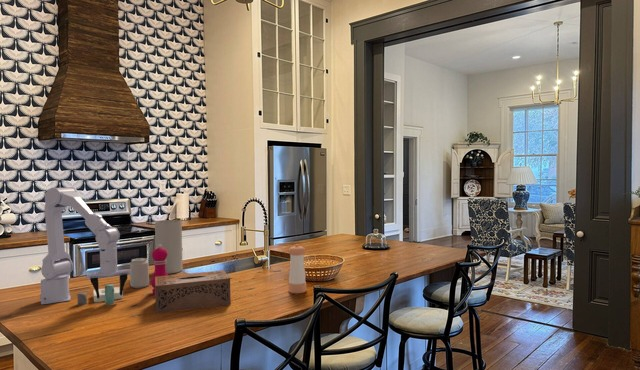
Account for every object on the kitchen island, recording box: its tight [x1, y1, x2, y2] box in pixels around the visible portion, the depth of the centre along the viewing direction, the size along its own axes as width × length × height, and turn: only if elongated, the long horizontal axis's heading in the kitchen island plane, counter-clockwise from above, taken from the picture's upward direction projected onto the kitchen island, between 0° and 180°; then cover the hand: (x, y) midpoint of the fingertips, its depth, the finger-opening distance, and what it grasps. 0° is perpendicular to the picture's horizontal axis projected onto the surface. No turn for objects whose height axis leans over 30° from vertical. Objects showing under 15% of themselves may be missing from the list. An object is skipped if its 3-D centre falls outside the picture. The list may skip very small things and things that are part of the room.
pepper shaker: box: [287, 243, 307, 294], centre depth 175 cm, size 7×7×19 cm
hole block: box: [92, 286, 124, 303], centre depth 169 cm, size 10×10×2 cm
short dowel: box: [76, 292, 88, 306], centre depth 160 cm, size 3×3×4 cm
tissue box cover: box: [154, 270, 232, 314], centre depth 160 cm, size 26×14×10 cm, turn 112°
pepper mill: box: [150, 244, 169, 296], centre depth 174 cm, size 7×7×20 cm
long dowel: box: [104, 283, 115, 306], centre depth 160 cm, size 3×3×7 cm
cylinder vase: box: [154, 219, 184, 275], centre depth 213 cm, size 12×12×25 cm
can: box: [129, 257, 150, 289], centre depth 185 cm, size 8×8×12 cm
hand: (109, 296), depth 160 cm, fingers open, 7 cm apart
